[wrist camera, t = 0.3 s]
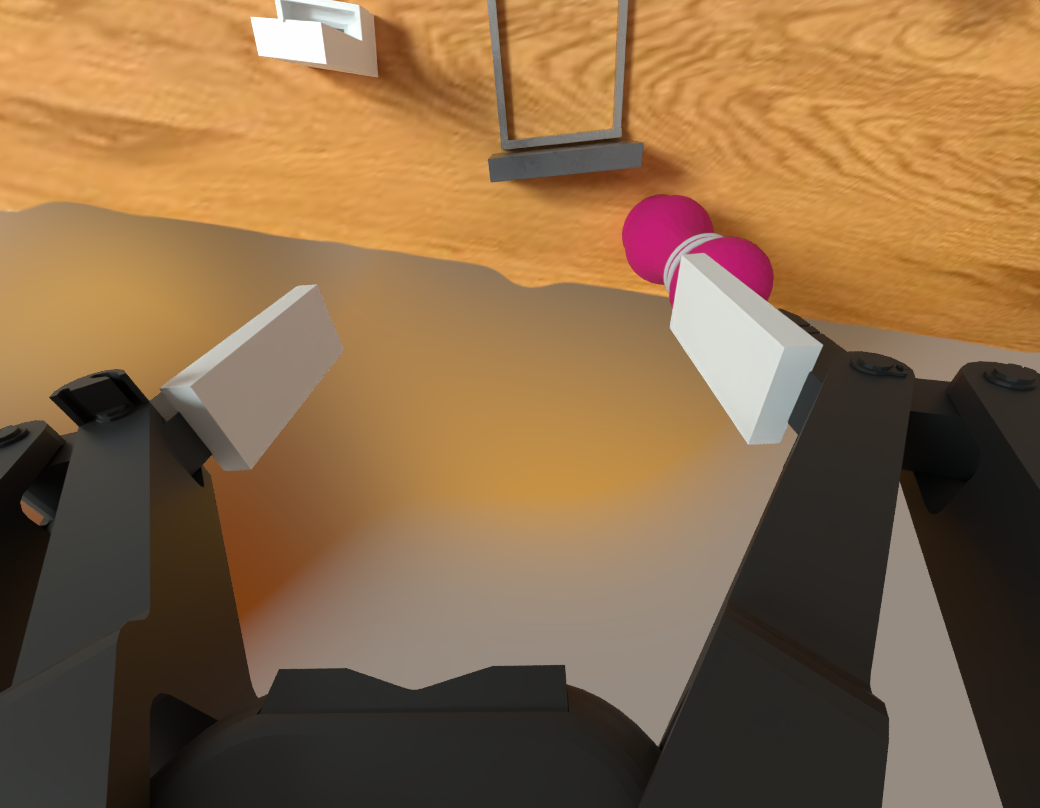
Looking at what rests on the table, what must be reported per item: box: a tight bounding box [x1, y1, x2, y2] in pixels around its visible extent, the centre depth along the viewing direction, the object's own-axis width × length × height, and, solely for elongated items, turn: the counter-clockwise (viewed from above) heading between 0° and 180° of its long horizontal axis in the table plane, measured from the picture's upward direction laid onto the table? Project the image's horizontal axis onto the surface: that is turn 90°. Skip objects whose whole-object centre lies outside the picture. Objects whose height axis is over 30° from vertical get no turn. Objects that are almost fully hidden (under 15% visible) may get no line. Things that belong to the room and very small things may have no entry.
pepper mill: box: [622, 194, 773, 309], centre depth 30 cm, size 7×7×20 cm
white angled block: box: [251, 0, 378, 77], centre depth 27 cm, size 4×10×9 cm, turn 83°
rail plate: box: [487, 0, 643, 182], centre depth 28 cm, size 14×12×5 cm
